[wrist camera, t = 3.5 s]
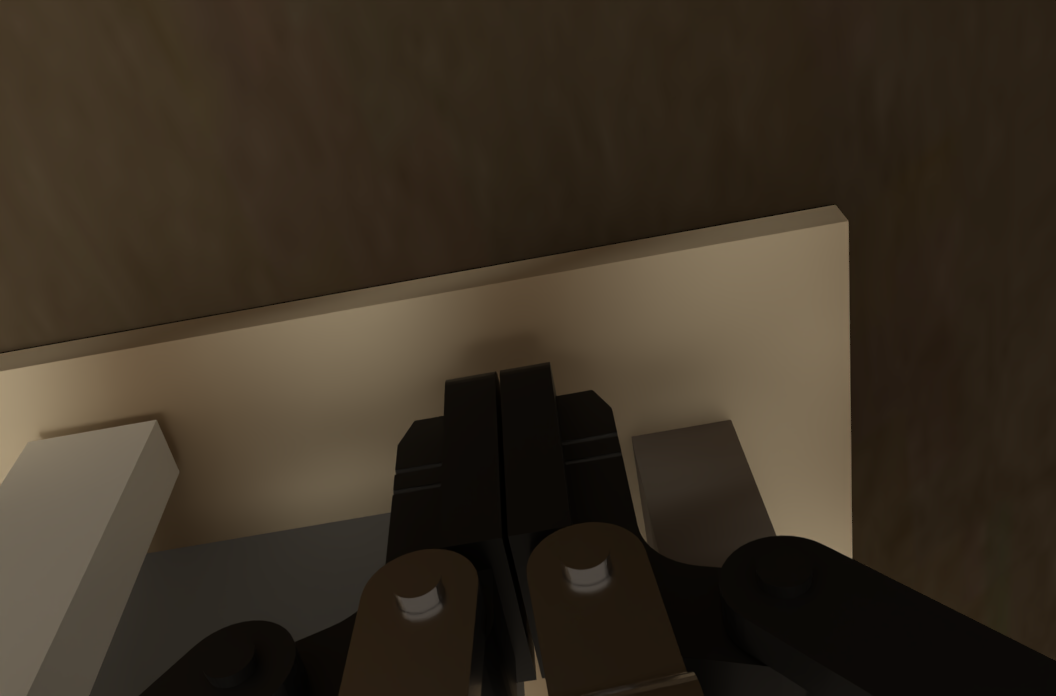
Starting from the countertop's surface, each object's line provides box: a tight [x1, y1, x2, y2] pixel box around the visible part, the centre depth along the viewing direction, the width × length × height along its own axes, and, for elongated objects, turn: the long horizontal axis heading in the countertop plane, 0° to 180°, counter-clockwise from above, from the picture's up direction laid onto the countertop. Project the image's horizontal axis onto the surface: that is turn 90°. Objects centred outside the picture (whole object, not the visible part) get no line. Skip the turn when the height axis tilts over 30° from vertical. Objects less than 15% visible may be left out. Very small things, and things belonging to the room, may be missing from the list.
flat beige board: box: [0, 205, 852, 696], centre depth 17 cm, size 23×11×4 cm, turn 100°
